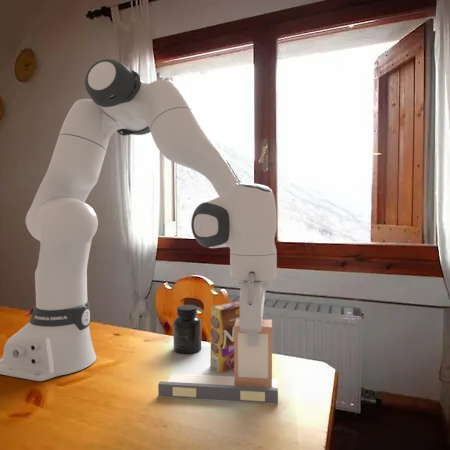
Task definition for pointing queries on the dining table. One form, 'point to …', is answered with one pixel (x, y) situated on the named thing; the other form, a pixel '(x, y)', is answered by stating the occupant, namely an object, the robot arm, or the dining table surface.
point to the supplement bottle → (187, 330)
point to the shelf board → (216, 389)
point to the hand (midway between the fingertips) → (253, 339)
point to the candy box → (223, 335)
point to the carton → (253, 357)
